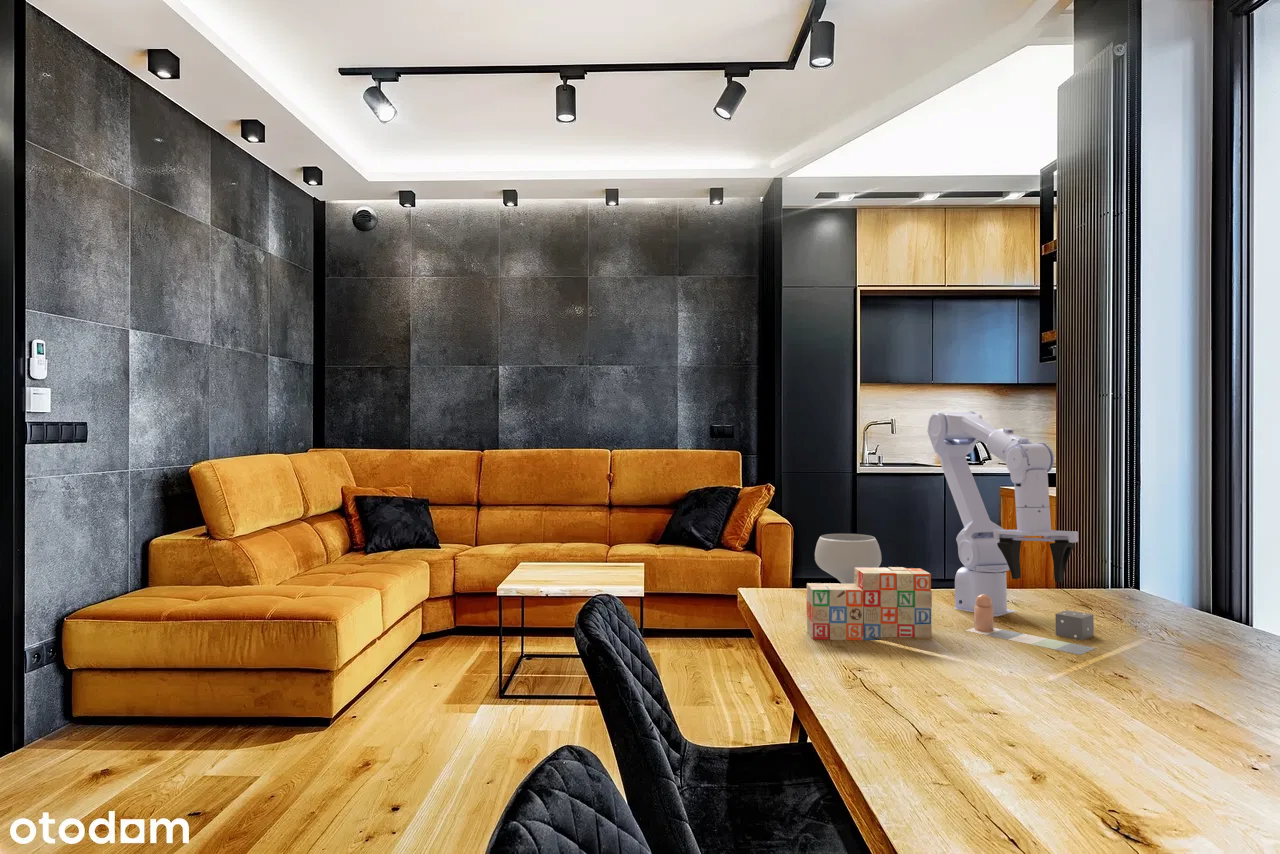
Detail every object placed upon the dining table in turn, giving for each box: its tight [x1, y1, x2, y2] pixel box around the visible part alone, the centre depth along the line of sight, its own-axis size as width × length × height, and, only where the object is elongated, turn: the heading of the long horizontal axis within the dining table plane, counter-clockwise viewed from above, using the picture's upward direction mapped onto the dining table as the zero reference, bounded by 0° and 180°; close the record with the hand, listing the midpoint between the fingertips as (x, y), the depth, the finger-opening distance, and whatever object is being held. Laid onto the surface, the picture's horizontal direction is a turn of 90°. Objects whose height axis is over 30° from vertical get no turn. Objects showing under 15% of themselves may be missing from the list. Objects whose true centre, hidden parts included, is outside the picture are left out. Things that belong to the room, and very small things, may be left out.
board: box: [965, 627, 1097, 656], centre depth 133 cm, size 20×6×1 cm, turn 37°
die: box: [1054, 609, 1095, 641], centre depth 136 cm, size 5×5×5 cm
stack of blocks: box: [806, 566, 933, 641], centre depth 139 cm, size 21×6×12 cm, turn 87°
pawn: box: [973, 594, 995, 632], centre depth 140 cm, size 3×3×7 cm
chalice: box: [814, 533, 882, 584], centre depth 163 cm, size 14×14×15 cm
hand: (1037, 580), depth 141 cm, fingers open, 7 cm apart
